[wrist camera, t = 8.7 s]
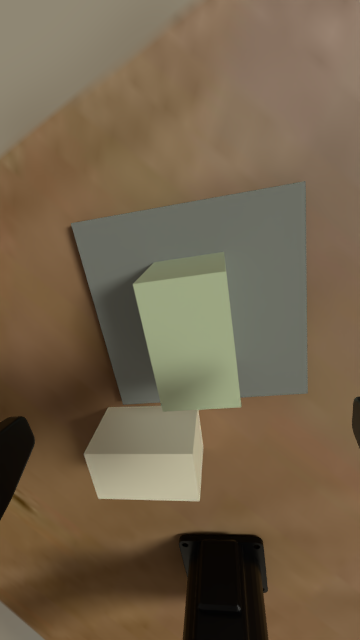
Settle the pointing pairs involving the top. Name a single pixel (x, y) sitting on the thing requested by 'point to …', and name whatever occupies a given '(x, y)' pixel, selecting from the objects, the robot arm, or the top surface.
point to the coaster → (242, 277)
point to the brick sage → (190, 332)
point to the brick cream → (146, 454)
